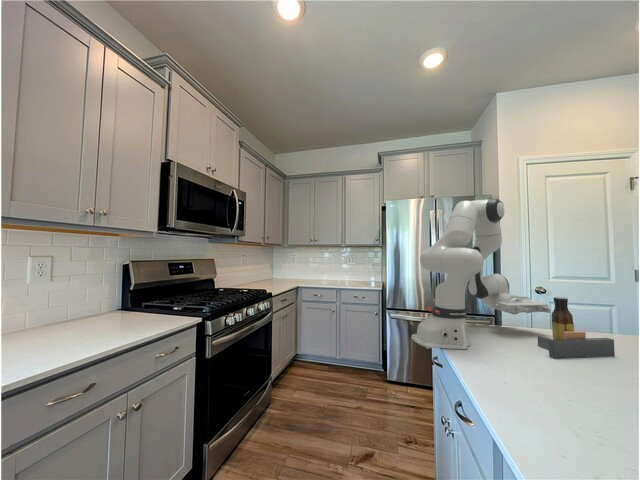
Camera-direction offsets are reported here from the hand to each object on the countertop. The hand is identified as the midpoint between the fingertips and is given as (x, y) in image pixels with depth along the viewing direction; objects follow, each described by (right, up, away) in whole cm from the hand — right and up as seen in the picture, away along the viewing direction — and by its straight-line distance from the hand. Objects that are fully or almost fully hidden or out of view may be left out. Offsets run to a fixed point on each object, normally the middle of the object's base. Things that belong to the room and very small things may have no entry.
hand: (539, 310), depth 109 cm
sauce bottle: (+1, -12, -10) cm, 16 cm away
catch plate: (+1, -11, -14) cm, 18 cm away
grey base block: (+1, -12, -11) cm, 16 cm away
